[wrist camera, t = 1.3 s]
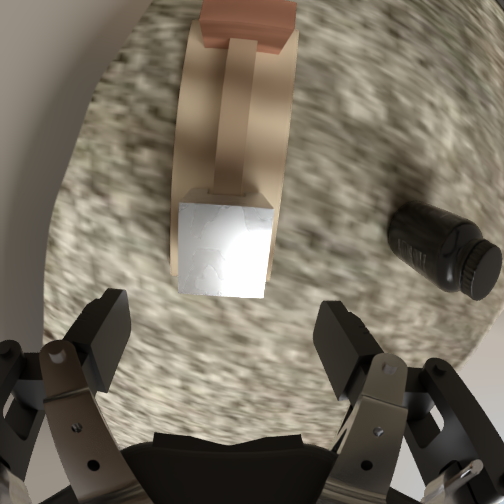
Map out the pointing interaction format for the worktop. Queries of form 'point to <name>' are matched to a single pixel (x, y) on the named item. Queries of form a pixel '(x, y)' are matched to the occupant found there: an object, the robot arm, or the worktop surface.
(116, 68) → the worktop surface
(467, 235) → the supplement bottle
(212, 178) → the rail
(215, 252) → the block
